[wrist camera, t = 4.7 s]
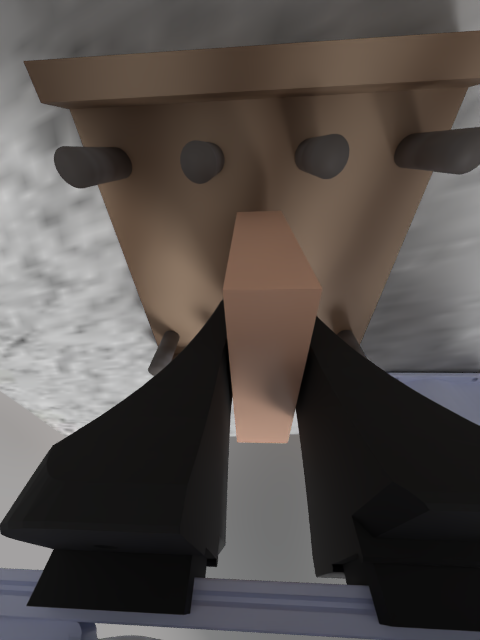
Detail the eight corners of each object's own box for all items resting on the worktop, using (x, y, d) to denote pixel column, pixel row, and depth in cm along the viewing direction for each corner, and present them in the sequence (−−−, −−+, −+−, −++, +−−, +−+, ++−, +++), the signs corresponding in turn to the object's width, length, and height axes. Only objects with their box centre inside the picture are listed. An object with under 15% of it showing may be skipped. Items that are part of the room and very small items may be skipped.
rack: (461, 54, 9) (612, -14, 5) (347, 352, 19) (370, 399, 16) (74, 78, 9) (-34, 34, 6) (168, 351, 20) (149, 397, 16)
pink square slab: (281, 210, 10) (322, 288, 4) (272, 328, 14) (287, 443, 9) (237, 212, 10) (222, 290, 4) (241, 329, 14) (237, 442, 9)
